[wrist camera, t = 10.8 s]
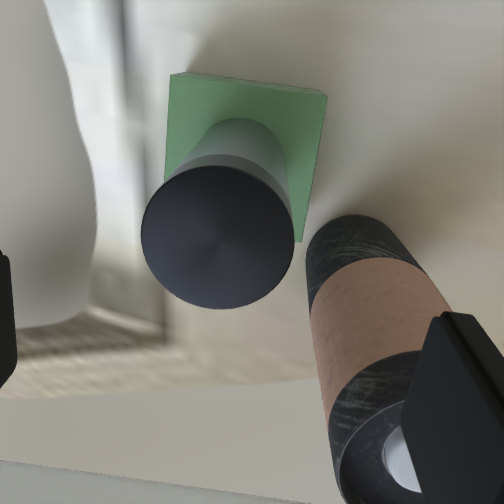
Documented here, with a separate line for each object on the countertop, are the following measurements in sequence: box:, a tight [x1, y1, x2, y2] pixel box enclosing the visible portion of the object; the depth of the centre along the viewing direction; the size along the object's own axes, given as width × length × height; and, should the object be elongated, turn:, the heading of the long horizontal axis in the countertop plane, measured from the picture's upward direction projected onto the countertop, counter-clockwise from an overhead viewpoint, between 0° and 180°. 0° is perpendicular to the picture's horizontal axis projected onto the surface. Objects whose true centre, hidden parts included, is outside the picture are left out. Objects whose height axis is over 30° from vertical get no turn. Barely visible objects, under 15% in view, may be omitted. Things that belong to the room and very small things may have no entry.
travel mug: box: [306, 215, 453, 504], centre depth 27 cm, size 8×8×20 cm
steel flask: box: [141, 118, 295, 309], centre depth 23 cm, size 5×5×13 cm
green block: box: [164, 72, 327, 242], centre depth 31 cm, size 9×9×5 cm
